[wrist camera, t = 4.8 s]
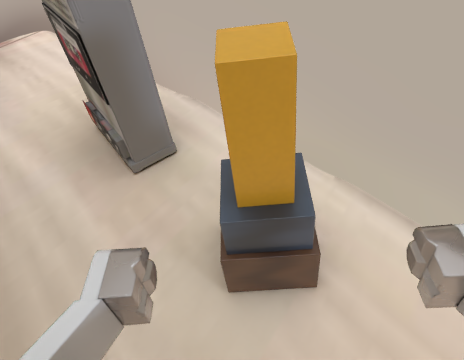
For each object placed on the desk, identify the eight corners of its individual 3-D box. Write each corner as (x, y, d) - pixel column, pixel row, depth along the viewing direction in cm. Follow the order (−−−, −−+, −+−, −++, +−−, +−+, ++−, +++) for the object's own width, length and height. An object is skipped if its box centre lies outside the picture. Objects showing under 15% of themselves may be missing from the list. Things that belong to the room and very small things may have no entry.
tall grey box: (93, 125, 51) (-13, -92, 33) (131, 107, 53) (52, -106, 35) (133, 176, 42) (20, -80, 24) (177, 152, 44) (102, -99, 27)
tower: (228, 292, 30) (212, 229, 24) (228, 222, 36) (215, 155, 29) (316, 287, 30) (324, 221, 24) (303, 216, 35) (307, 147, 29)
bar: (237, 207, 25) (214, 63, 17) (236, 168, 28) (216, 29, 20) (294, 203, 25) (297, 54, 17) (287, 164, 28) (287, 21, 20)
